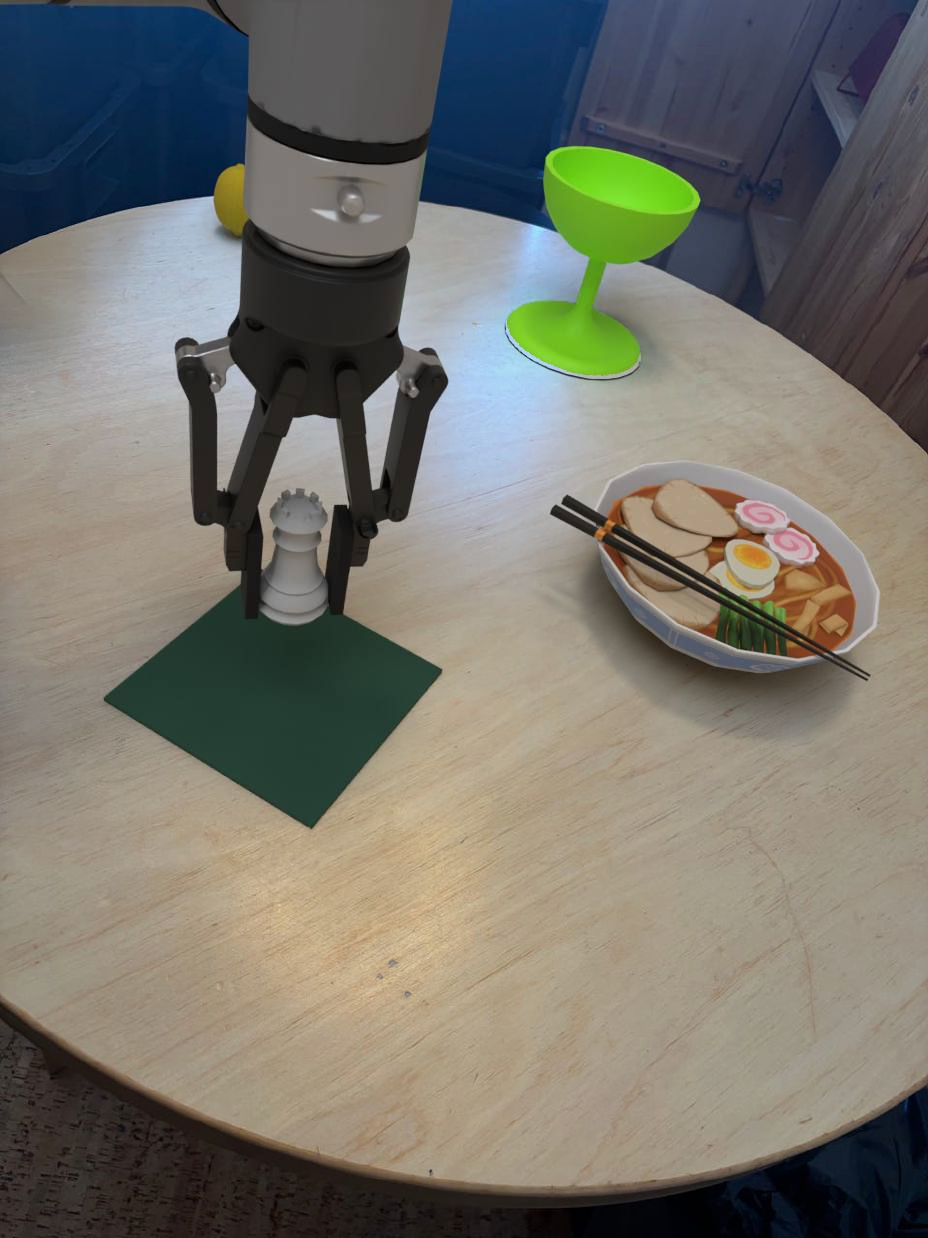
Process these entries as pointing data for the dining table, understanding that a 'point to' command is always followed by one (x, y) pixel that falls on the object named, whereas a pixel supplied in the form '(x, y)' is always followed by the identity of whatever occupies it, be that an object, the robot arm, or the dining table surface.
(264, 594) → the rook chess piece
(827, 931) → the dining table surface
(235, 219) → the lemon
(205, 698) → the mat
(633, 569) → the ramen bowl
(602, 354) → the wineglass
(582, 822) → the dining table surface
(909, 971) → the dining table surface
